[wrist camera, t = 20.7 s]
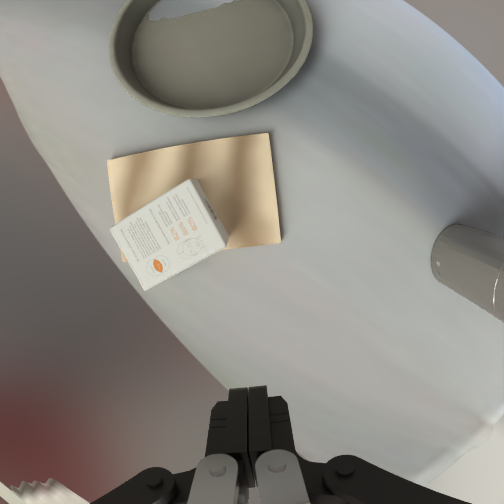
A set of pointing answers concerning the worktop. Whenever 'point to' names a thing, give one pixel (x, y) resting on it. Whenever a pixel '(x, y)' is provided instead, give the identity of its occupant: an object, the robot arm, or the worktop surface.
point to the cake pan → (209, 54)
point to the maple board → (206, 184)
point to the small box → (170, 234)
